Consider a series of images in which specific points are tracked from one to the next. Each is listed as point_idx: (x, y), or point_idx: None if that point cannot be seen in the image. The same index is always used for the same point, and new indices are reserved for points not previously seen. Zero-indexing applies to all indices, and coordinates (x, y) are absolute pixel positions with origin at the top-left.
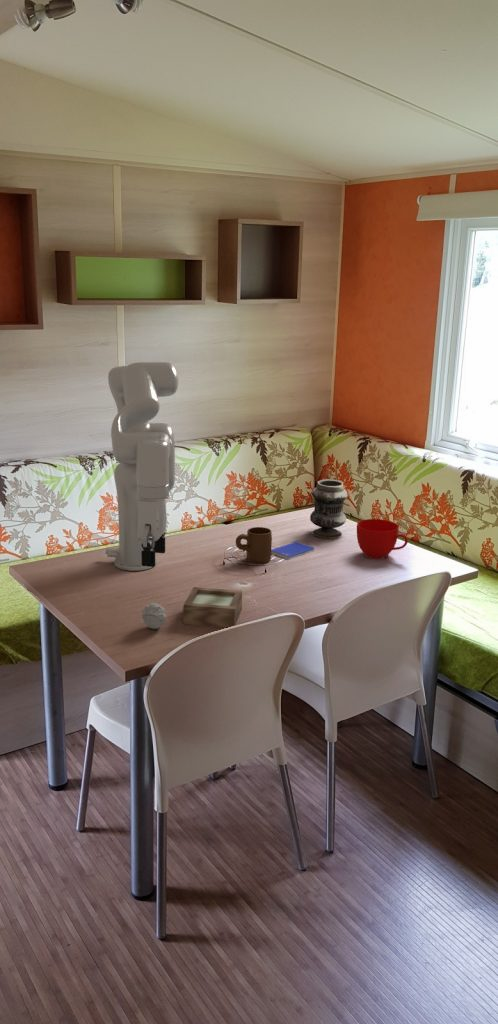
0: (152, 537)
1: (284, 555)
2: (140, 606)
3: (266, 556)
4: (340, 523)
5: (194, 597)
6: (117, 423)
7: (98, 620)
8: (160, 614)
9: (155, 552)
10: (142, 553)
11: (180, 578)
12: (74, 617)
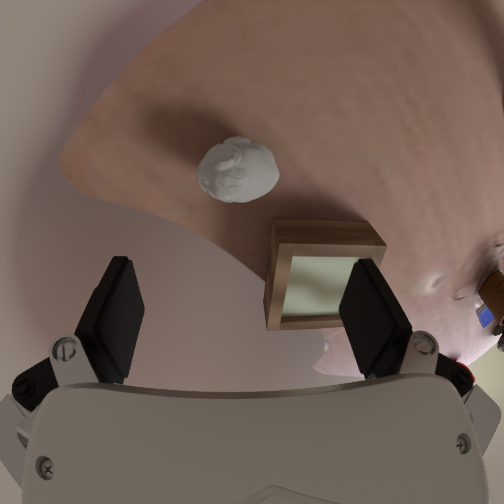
0: (398, 330)
1: (482, 309)
2: (365, 107)
3: (483, 300)
4: (497, 347)
5: (335, 254)
6: None
7: (267, 17)
8: (215, 197)
9: (351, 273)
10: (88, 315)
11: (477, 185)
12: None
